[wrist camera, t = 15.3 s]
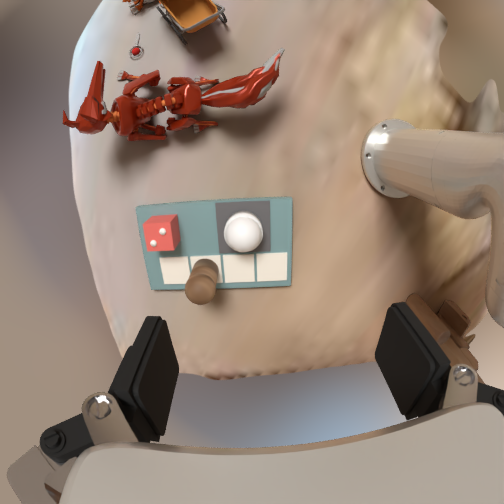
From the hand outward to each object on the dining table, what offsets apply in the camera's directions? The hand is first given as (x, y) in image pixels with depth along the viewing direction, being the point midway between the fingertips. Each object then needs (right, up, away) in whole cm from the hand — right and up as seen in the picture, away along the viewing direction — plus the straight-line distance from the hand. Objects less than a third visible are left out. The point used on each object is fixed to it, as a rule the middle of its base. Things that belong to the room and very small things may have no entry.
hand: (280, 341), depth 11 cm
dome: (-2, +7, +28) cm, 29 cm away
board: (-7, +5, +31) cm, 32 cm away
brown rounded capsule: (-8, +1, +31) cm, 32 cm away
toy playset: (-11, +32, +20) cm, 39 cm away
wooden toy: (+36, -9, +38) cm, 53 cm away
